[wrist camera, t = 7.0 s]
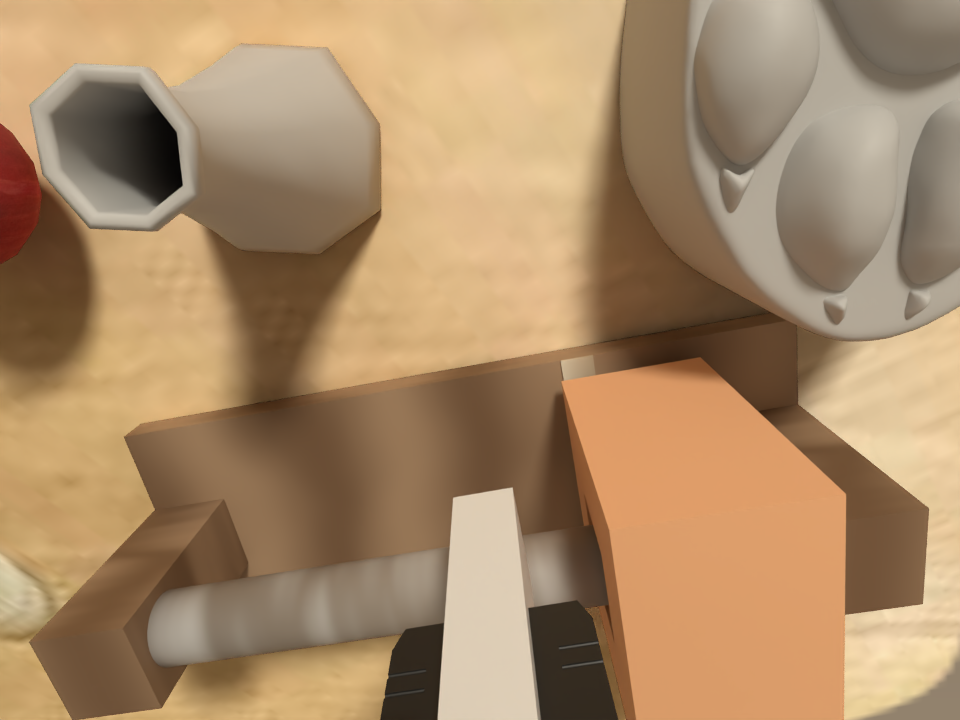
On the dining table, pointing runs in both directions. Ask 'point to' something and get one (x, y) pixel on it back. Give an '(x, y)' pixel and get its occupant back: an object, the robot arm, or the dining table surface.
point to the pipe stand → (405, 511)
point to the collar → (709, 549)
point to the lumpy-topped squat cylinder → (802, 152)
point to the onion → (16, 195)
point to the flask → (216, 148)
